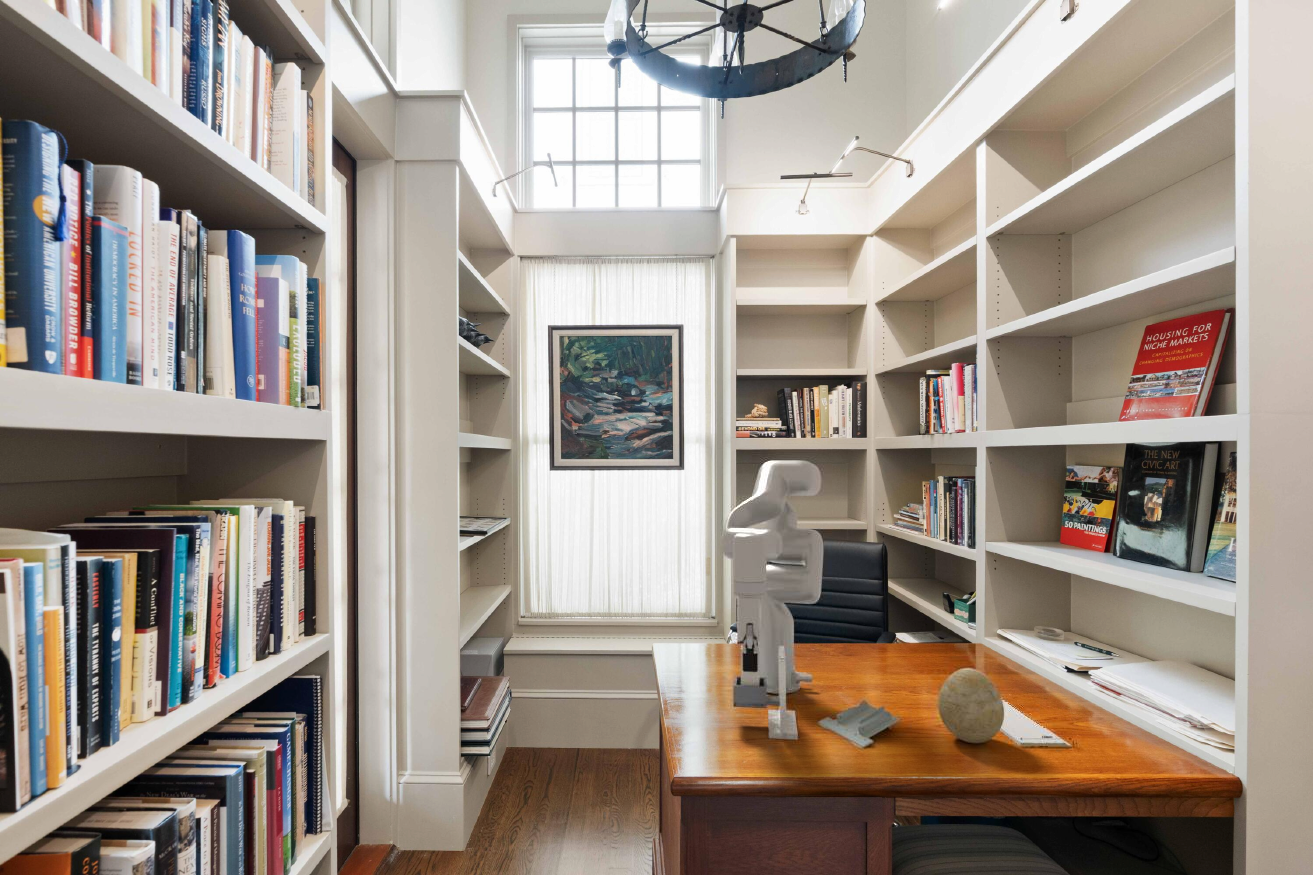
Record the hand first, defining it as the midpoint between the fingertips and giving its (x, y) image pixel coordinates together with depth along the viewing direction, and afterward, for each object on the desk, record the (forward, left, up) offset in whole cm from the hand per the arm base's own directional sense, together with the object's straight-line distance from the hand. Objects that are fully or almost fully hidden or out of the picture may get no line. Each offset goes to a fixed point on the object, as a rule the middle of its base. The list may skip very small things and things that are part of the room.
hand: (750, 664), depth 156 cm
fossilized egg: (-46, +2, -13) cm, 48 cm away
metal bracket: (-24, 0, -14) cm, 28 cm away
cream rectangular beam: (0, 0, -7) cm, 7 cm away
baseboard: (-59, -12, -14) cm, 62 cm away
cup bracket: (-3, 0, -13) cm, 13 cm away
